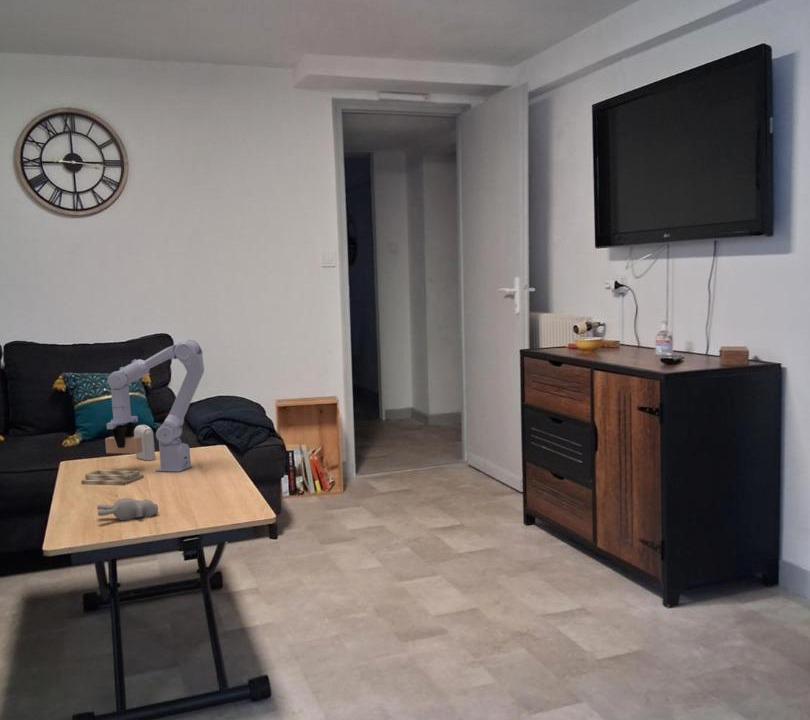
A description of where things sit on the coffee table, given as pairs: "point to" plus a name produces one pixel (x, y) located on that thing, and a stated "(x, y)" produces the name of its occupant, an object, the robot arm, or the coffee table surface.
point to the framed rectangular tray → (112, 477)
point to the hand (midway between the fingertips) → (124, 446)
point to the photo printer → (145, 442)
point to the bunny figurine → (129, 509)
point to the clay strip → (131, 445)
